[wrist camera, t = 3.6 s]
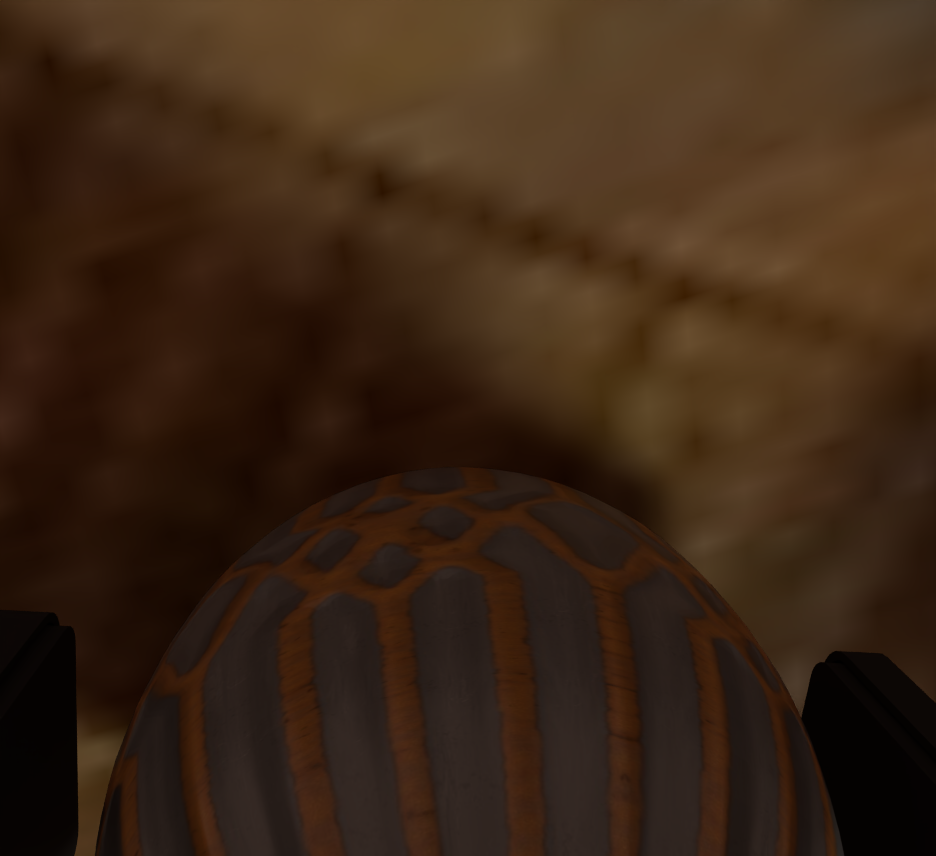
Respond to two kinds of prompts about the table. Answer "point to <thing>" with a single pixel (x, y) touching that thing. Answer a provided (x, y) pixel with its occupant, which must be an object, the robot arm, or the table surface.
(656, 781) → the vase
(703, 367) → the table surface
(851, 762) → the robot arm
